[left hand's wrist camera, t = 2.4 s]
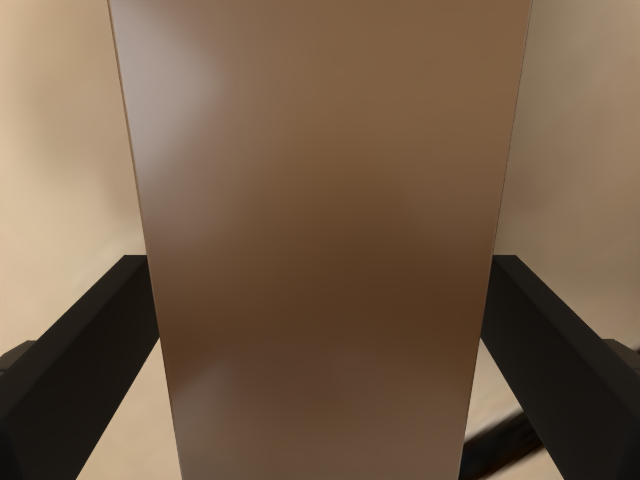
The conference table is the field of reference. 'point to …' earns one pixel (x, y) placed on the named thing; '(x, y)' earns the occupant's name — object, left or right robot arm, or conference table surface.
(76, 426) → the left robot arm
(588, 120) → the conference table surface
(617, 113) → the conference table surface
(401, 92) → the bar
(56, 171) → the conference table surface
